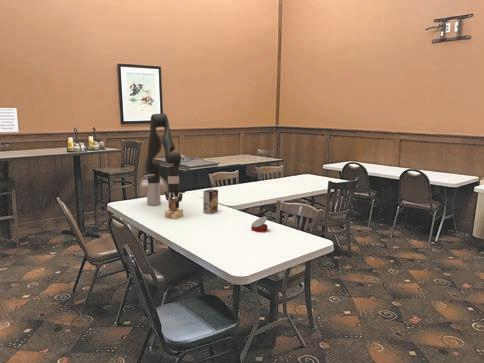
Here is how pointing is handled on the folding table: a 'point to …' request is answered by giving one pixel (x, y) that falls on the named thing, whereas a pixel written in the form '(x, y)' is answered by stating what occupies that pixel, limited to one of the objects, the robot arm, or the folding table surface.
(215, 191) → the coffee box
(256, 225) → the canned food
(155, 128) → the robot arm
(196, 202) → the folding table surface
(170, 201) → the walnut block
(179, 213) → the oak block
